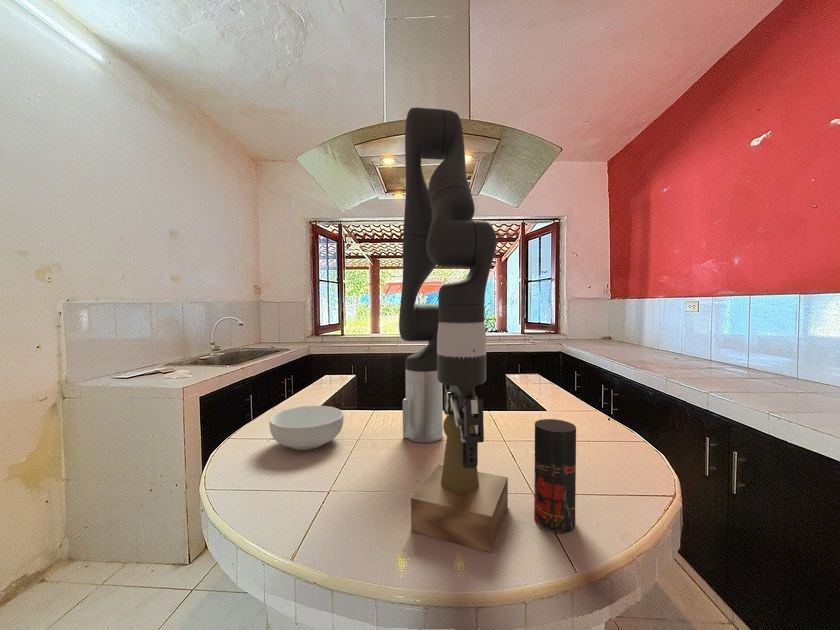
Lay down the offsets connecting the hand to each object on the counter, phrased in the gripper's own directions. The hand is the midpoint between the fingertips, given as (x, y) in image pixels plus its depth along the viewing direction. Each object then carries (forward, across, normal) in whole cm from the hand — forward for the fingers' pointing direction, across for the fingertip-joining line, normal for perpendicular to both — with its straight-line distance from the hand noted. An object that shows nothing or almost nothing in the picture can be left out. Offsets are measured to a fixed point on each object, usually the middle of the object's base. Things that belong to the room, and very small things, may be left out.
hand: (461, 454), depth 57 cm
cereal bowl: (+10, +36, +29) cm, 47 cm away
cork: (+5, +1, 0) cm, 5 cm away
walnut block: (+10, 0, 0) cm, 10 cm away
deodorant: (+10, -3, -14) cm, 17 cm away
